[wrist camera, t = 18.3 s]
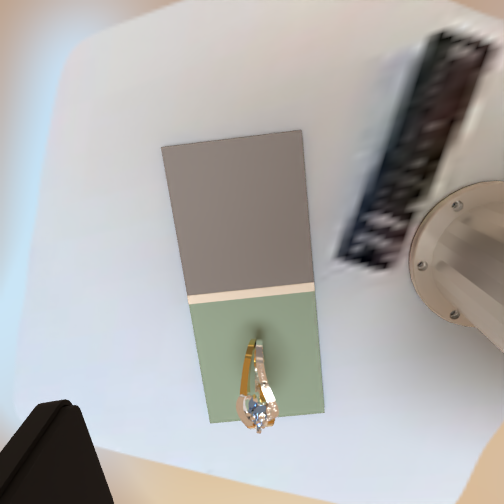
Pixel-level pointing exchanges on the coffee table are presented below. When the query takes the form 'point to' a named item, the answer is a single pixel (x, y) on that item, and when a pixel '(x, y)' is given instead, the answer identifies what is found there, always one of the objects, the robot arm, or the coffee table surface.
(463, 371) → the coffee table surface
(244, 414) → the ring
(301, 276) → the board
